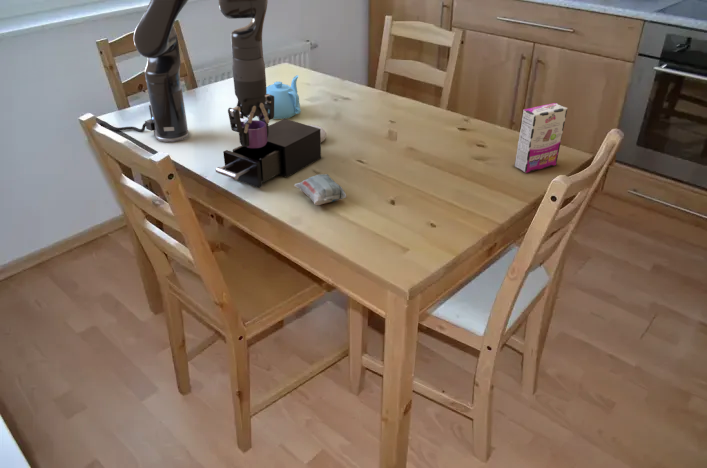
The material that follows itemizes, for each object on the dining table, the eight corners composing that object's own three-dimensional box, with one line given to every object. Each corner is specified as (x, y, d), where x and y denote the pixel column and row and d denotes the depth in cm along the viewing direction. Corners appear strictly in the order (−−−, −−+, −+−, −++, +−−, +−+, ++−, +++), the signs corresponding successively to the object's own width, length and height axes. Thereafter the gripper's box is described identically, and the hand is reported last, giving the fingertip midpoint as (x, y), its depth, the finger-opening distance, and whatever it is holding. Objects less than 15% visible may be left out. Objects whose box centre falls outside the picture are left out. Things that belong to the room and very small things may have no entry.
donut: (288, 145, 168) (321, 148, 167) (287, 134, 167) (321, 137, 165) (297, 132, 177) (329, 134, 175) (297, 121, 175) (329, 123, 173)
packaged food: (314, 213, 136) (314, 194, 134) (294, 191, 145) (293, 173, 142) (347, 204, 140) (348, 186, 137) (325, 184, 149) (325, 166, 146)
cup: (237, 144, 146) (235, 125, 143) (254, 136, 150) (252, 118, 147) (255, 151, 143) (254, 131, 140) (272, 142, 147) (271, 123, 144)
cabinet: (286, 177, 151) (284, 146, 147) (250, 164, 157) (248, 135, 153) (321, 158, 161) (320, 128, 157) (286, 146, 167) (284, 118, 163)
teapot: (305, 120, 184) (304, 88, 179) (257, 123, 182) (254, 91, 176) (299, 104, 197) (298, 74, 191) (254, 107, 194) (251, 76, 188)
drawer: (243, 196, 141) (241, 171, 137) (210, 183, 146) (207, 158, 142) (294, 168, 154) (292, 144, 150) (261, 157, 159) (259, 134, 155)
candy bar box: (543, 158, 163) (555, 101, 154) (556, 165, 159) (569, 108, 151) (512, 166, 159) (522, 108, 150) (525, 173, 155) (536, 114, 146)
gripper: (239, 86, 130) (245, 155, 139) (281, 70, 140) (285, 135, 149) (215, 80, 134) (223, 147, 143) (258, 65, 144) (263, 129, 153)
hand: (254, 141), depth 146 cm, fingers closed on cup, 6 cm apart
